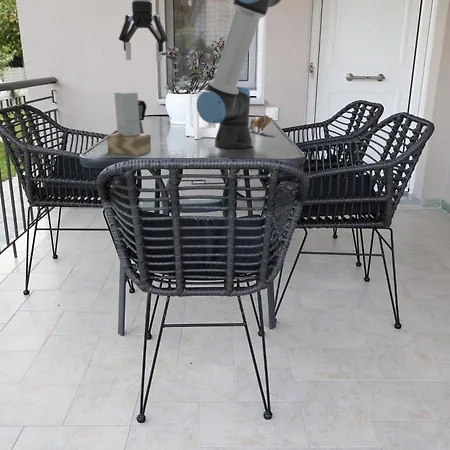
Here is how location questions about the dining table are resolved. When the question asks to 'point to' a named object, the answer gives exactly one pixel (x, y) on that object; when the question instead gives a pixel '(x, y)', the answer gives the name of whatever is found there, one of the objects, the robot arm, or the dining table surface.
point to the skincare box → (127, 113)
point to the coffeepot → (141, 113)
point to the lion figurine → (260, 122)
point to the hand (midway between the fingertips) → (143, 60)
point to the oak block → (129, 144)
